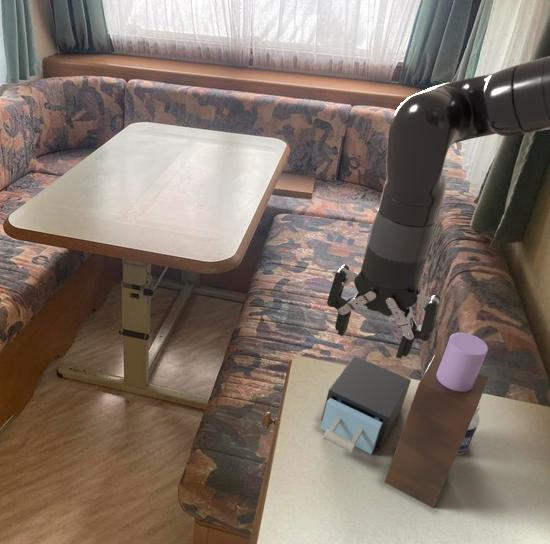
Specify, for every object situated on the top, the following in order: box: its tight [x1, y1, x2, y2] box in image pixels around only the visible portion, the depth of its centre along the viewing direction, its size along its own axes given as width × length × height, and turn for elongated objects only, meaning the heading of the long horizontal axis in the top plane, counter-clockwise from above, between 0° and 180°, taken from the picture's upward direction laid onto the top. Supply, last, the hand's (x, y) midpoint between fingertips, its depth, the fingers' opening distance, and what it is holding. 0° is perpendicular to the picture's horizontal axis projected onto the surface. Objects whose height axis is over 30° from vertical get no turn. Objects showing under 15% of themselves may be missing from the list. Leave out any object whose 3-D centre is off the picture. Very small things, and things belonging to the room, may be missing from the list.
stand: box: [384, 355, 489, 509], centre depth 79 cm, size 7×7×20 cm
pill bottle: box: [456, 401, 481, 456], centre depth 88 cm, size 5×5×10 cm
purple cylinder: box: [437, 332, 489, 392], centre depth 72 cm, size 4×4×6 cm
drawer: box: [320, 398, 383, 455], centre depth 89 cm, size 14×8×6 cm, turn 145°
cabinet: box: [320, 355, 412, 450], centre depth 93 cm, size 11×10×8 cm
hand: (370, 343), depth 83 cm, fingers open, 8 cm apart
